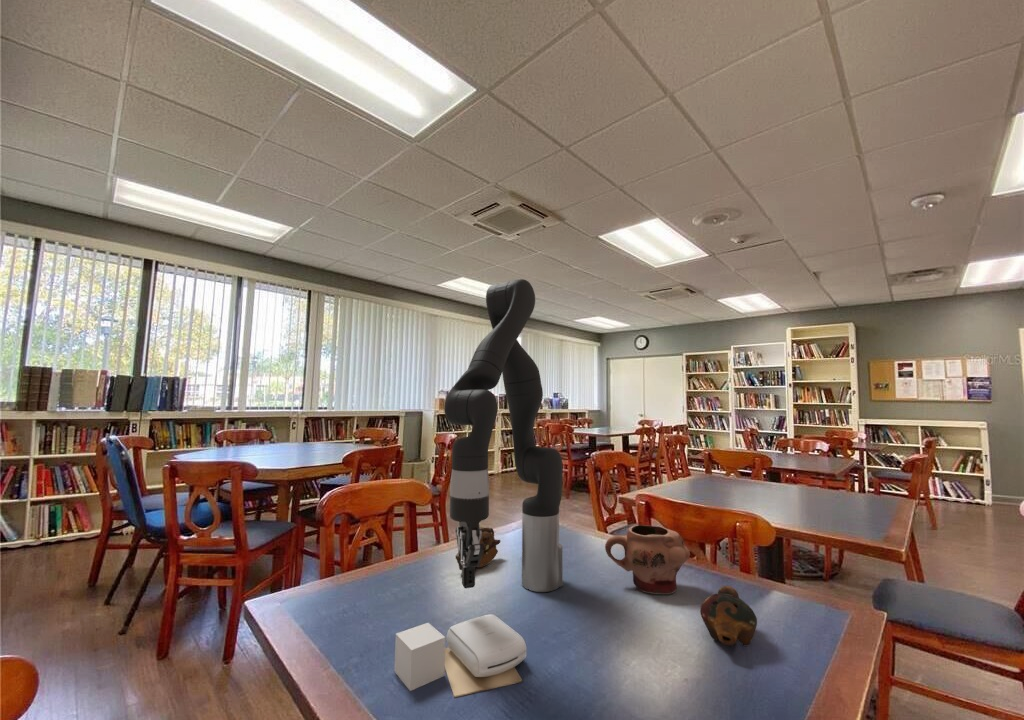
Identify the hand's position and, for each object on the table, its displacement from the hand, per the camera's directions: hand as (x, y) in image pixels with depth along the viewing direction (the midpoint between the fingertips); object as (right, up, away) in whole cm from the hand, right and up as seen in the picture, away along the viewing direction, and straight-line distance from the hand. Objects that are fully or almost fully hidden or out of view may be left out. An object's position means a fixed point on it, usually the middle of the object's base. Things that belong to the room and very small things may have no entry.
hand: (468, 586), depth 80 cm
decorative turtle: (+49, -10, 0) cm, 51 cm away
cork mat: (+3, -9, -8) cm, 12 cm away
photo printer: (+1, -7, -1) cm, 7 cm away
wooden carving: (0, -14, +35) cm, 37 cm away
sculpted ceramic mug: (+41, -13, +22) cm, 49 cm away
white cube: (-7, -9, -11) cm, 16 cm away
